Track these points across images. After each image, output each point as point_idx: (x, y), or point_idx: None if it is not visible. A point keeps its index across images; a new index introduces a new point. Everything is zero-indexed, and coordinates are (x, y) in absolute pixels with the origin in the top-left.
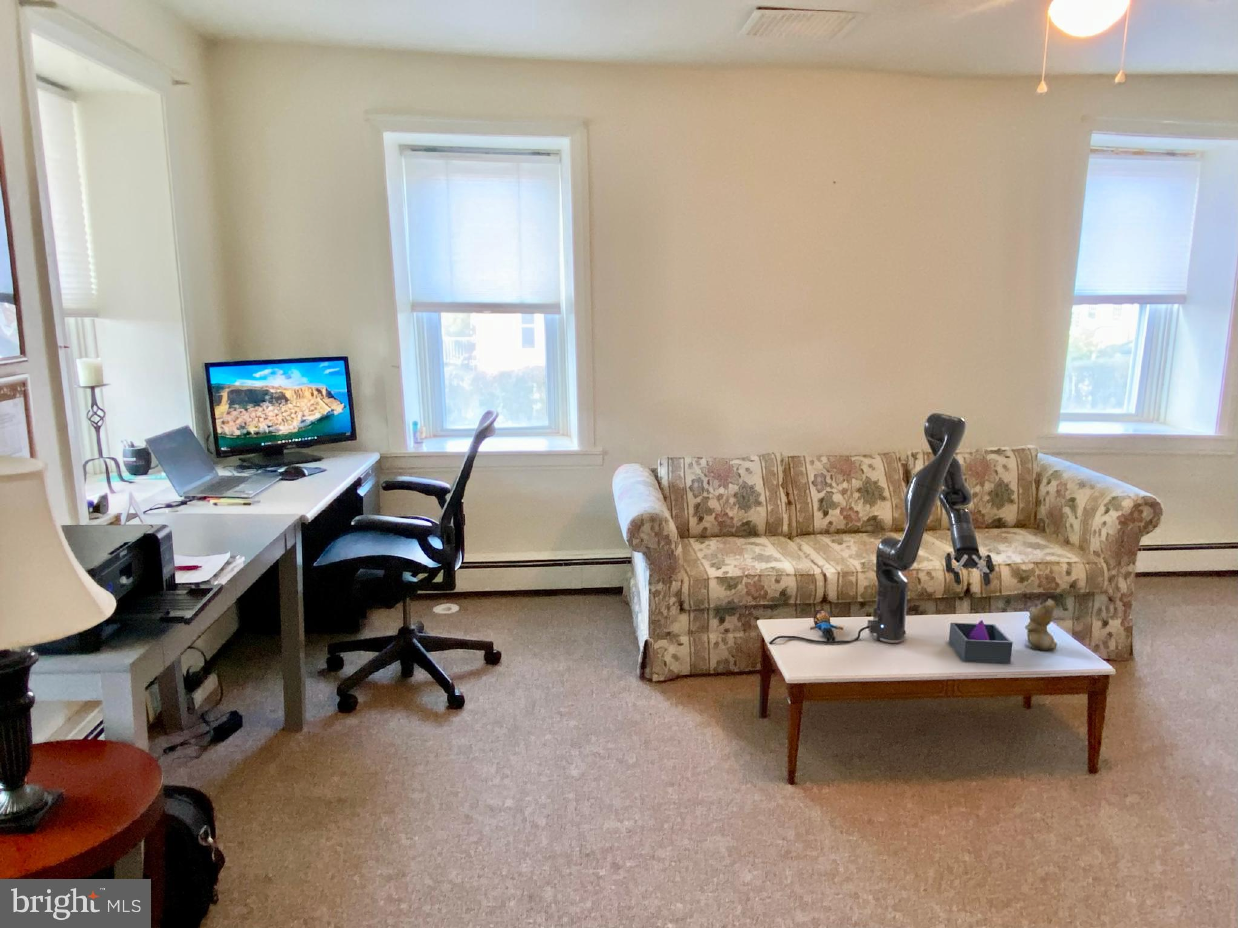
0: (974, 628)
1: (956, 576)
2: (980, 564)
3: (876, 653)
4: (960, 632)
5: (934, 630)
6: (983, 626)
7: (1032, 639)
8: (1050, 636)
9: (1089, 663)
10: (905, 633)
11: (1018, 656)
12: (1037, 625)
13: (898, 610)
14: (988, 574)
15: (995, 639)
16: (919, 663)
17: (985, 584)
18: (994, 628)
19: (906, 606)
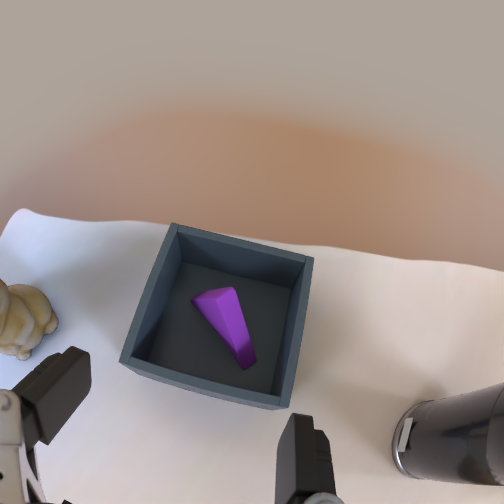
0: (242, 316)
1: (322, 464)
2: (9, 466)
3: (470, 347)
4: (300, 315)
5: (267, 499)
6: (219, 291)
7: (46, 308)
8: (8, 287)
9: (16, 229)
10: (409, 419)
11: (124, 288)
12: (11, 297)
13: (491, 386)
14: (16, 392)
15: (149, 336)
16: (405, 292)
17: (86, 381)
18: (136, 343)
19: (468, 417)
